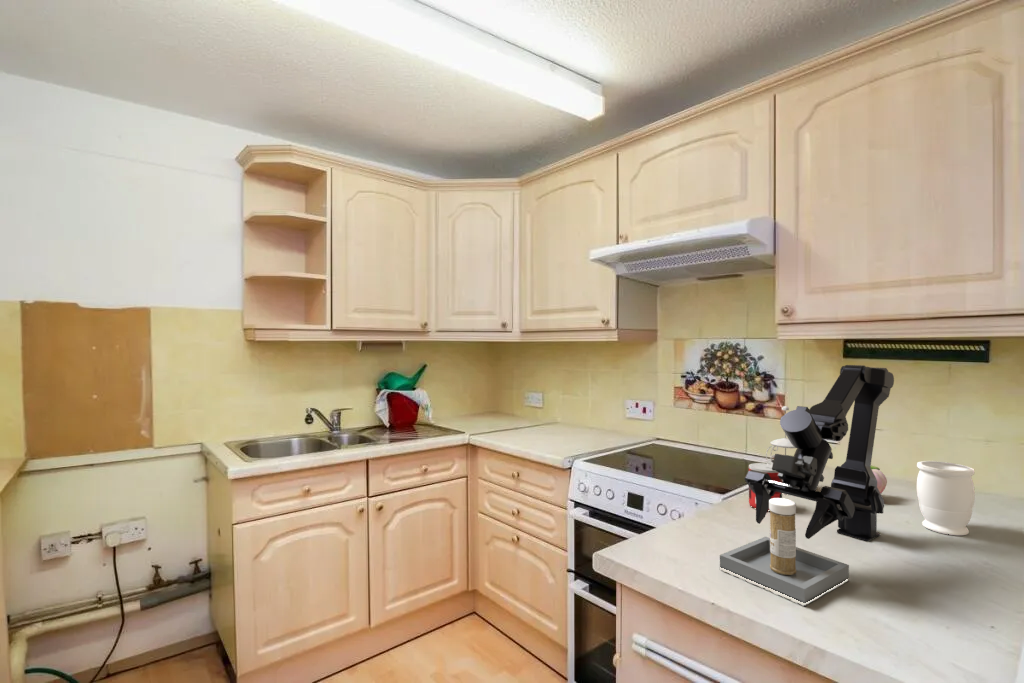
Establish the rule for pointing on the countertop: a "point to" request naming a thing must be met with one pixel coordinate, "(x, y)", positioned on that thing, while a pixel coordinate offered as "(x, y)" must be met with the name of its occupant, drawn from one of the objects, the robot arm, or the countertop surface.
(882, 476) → the decorative fruit
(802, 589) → the box
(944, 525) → the jar
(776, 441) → the french press
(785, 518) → the sprinkles bottle
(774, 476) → the canned food
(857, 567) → the countertop surface
